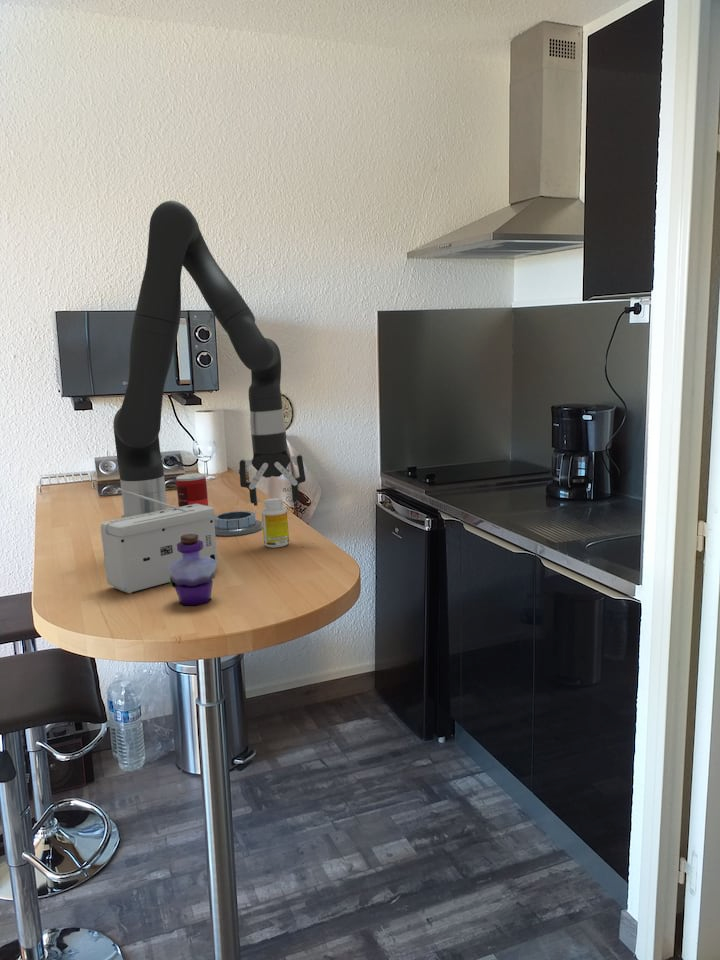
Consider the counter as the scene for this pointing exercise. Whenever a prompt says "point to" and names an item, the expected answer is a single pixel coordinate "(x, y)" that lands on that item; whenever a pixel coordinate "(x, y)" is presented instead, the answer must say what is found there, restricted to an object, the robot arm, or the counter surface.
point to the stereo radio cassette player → (153, 544)
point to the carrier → (236, 523)
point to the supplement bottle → (275, 524)
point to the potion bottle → (192, 572)
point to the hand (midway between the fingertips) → (275, 503)
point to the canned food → (192, 489)
